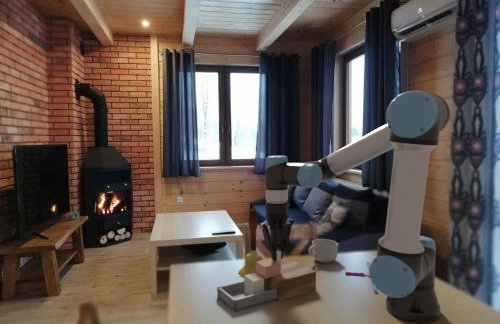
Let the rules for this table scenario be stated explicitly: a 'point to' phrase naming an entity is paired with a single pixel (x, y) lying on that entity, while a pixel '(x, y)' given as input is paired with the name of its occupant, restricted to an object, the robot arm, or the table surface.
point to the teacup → (324, 250)
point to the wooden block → (291, 280)
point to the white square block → (253, 284)
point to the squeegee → (363, 275)
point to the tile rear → (267, 268)
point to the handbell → (253, 255)
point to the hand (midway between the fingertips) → (277, 268)
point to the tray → (243, 296)
